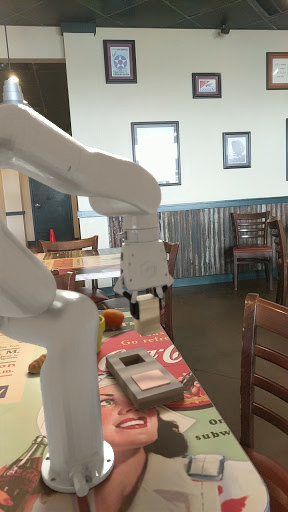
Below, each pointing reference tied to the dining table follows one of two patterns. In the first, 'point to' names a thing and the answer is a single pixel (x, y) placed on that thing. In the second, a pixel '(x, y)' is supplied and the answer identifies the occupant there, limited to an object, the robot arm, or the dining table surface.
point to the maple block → (148, 315)
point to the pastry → (37, 364)
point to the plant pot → (100, 332)
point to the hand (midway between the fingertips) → (146, 315)
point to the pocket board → (144, 378)
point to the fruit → (113, 319)
